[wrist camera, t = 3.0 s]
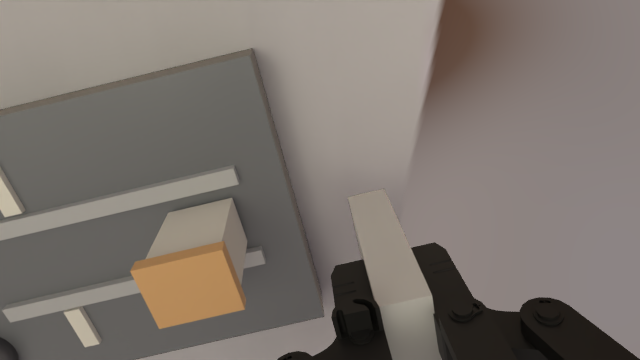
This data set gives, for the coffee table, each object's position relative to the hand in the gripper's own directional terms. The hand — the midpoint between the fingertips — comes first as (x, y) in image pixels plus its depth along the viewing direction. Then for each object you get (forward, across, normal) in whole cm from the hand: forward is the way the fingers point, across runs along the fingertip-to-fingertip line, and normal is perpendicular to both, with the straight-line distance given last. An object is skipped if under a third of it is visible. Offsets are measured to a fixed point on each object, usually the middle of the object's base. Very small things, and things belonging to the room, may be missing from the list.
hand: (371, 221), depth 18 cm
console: (+5, -13, 0) cm, 14 cm away
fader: (+2, -7, 0) cm, 8 cm away
